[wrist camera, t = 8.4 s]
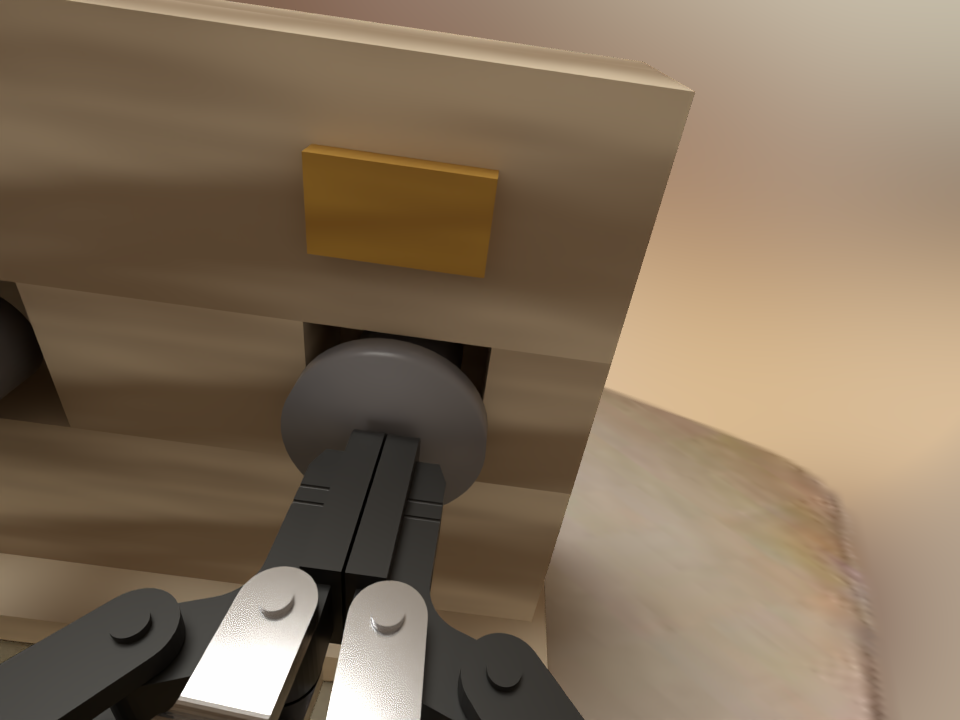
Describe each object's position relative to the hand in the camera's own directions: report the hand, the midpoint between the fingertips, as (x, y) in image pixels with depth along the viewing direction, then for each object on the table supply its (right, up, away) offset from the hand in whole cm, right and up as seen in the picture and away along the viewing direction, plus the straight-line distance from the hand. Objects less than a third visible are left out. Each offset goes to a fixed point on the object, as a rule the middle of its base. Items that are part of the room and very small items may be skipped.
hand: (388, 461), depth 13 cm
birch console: (-7, -5, +9) cm, 12 cm away
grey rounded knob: (0, 0, +3) cm, 3 cm away
